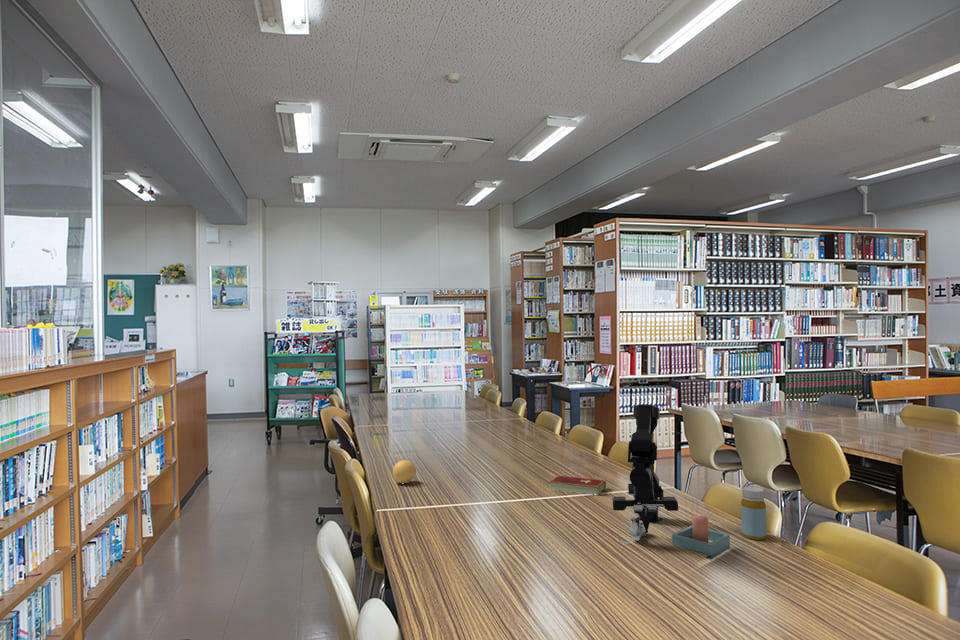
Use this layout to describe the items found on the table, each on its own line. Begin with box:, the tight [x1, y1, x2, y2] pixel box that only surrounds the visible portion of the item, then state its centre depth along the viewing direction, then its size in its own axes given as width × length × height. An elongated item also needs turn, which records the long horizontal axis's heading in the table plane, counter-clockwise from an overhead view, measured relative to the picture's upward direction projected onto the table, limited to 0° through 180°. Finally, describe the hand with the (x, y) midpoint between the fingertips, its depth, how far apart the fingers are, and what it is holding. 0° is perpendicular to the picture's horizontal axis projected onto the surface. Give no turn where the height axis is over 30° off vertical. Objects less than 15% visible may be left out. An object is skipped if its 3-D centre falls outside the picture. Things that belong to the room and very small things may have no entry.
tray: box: [671, 524, 731, 560], centre depth 171 cm, size 12×12×4 cm
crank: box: [629, 517, 647, 541], centre depth 177 cm, size 11×4×7 cm, turn 155°
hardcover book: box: [547, 475, 607, 496], centre depth 239 cm, size 12×21×4 cm, turn 64°
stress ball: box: [392, 459, 417, 484], centre depth 251 cm, size 10×10×10 cm
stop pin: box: [691, 515, 710, 543], centre depth 172 cm, size 4×4×8 cm
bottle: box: [740, 485, 767, 541], centre depth 181 cm, size 7×7×15 cm
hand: (646, 532), depth 172 cm, fingers closed
